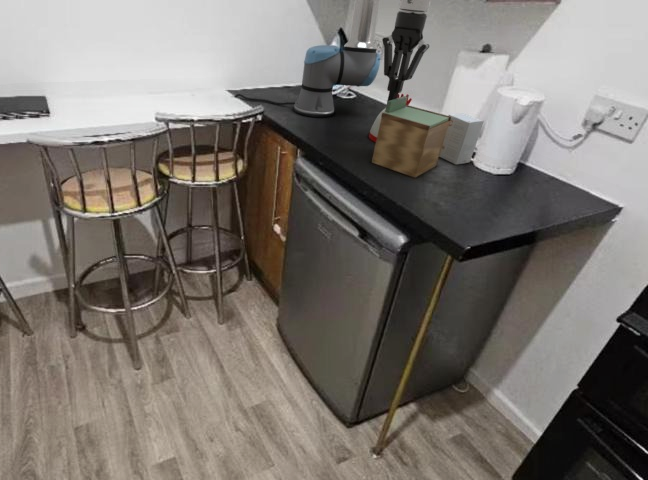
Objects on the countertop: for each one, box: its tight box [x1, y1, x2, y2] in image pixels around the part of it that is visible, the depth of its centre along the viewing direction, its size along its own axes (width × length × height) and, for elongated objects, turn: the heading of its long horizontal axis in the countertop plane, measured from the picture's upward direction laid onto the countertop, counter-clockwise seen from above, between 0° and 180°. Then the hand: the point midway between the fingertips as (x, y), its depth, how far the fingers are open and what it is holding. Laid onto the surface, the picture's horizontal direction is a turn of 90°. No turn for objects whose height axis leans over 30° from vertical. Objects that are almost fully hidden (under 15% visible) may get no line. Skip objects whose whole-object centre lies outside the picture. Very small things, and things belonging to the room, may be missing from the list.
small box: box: [439, 113, 485, 166], centre depth 138 cm, size 8×6×13 cm
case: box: [371, 104, 451, 179], centre depth 131 cm, size 14×14×15 cm
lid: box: [383, 95, 449, 128], centre depth 127 cm, size 14×13×4 cm
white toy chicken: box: [368, 93, 413, 143], centre depth 150 cm, size 14×14×15 cm
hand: (391, 103), depth 131 cm, fingers closed
